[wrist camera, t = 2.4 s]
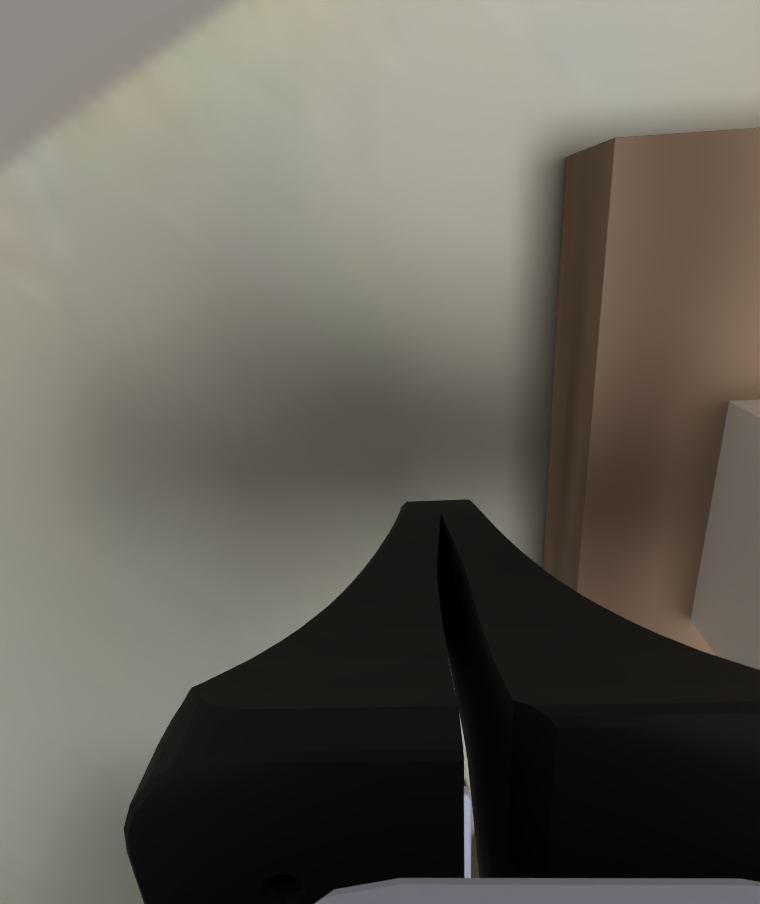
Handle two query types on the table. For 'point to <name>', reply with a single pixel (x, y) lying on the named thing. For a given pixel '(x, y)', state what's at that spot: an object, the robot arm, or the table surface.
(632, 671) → the robot arm
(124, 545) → the table surface
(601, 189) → the walnut plate
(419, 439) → the table surface
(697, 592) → the block
